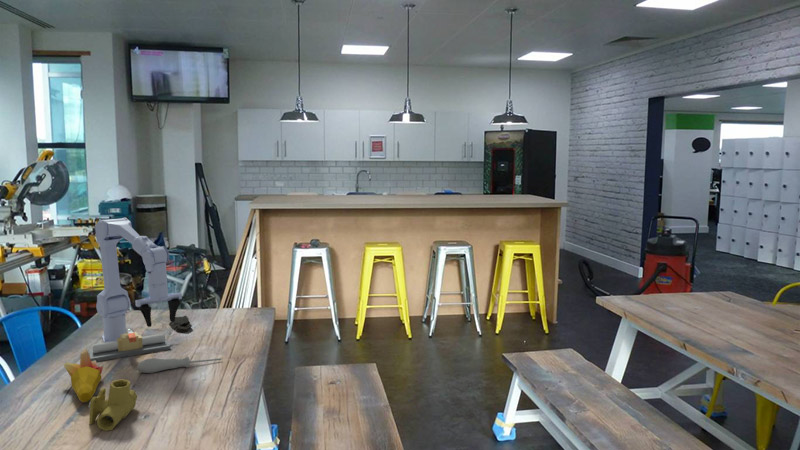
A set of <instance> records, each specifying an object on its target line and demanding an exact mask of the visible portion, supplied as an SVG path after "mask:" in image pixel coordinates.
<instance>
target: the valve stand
mask: <svg viewBox="0 0 800 450" xmlns="http://www.w3.org/2000/svg"><path fill="white" fill-rule="evenodd" d="M133 333H135V335H136V341H137V342H129V340H128V334H127V333H126V334H120V338H117V341H112V342H106V343H104V342H100V343H95V344H94V343H93V344H92V346H91V347H92V348H91V349H88V353H89V356H90V359H91V361H95V360H96V362H102V361H107V360H111V359H113V360H114V359H119V358H125V357H126V358H127V357H131V356H139V355H144V354H150V353H157V352H161V351H168V350H171V344H170V343H169V341H168V340H167V338H166V335H165V333H159V334H153V335H147V336H142V334H138V332H137V331H135V332H134V331H133Z"/></svg>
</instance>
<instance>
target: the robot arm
mask: <svg viewBox="0 0 800 450" xmlns="http://www.w3.org/2000/svg"><path fill="white" fill-rule="evenodd" d="M94 228H95V229H94V230H95V237H96V238H95V239H96V243H98V244H99V248H100V249H99V250H100V257H101V268H102V276H103V277H102V278H103V286H104V288H103V290H101V292H99V293H98V294H97V295H96V306H95V307H96V311H97V313H98V315H99V316H100V317H102V323H103V326H102V327H103V334H101V338H102V341H103V342H102V343H106V342H112V341H117V338H120V334H126V333H125V329H127V322H126V314H128V311H129V309H130V308H131V299H130V297H129V293H128V292H129V291H127V290H126V289H124V288H123V287H122V286H121V280H120V270H119V259H118V250H117V244H118V243H119V242H120V241H121V240H123V239H124V240H126V241H128V242H129V243H130V244H131V247H132V249H133V251H134V252H136V253H137V254H138V255H139V256H141V259H142V262H143V264H144V266H145V272H147V280H148V281H147V283H148V297H144V298H141V299H135V300H134V302H135V304H134V305H135V307H137V308H138V309H139V311H140V312H141V315H143V318H144V321H145V324H146V326H147V327H148V328H151V327H152V315H151V314H152V307H150V305H153V304H158V303H159V304H160V303H164V302H167V304H168V311H169V321H170V322H175V317H177V316H176V315H177V312H178V309H179V306H180V304H181V300H182V299H183V295H182V292H175V293H169V289H168V286H169V285H168V275H167V264H168V262H169V260H170V252H169V250H168V249H167V248H166V246H163V245H162V246H161V245H157V244H155V242H153V241H152V240H151V239H150V238H149V237H148V236H147V235H140V234H139V233H138V232H137V231H136V230H135V229H134V228H133V226H132V222H131V220H129V219H128V218H127V217H122V218H109V219H100V220H98V221H97V222H96V223H95V226H94Z"/></svg>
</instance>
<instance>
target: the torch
mask: <svg viewBox="0 0 800 450" xmlns="http://www.w3.org/2000/svg"><path fill="white" fill-rule="evenodd" d="M79 357H80V359H79V360H80V361H79V363H73V362H70V361H69V360H68V359H66V362H63V364H62V365H63V367H64V369H66V371H67V373H68V375H69V377H70V381H71V387H72V389H73V391H74V393H75V394H76V396H77V397H78V399H79V401H81V402H82V403H86V402H90V401H91V399H92V397H94V394H95V393H96V391H97V388H98V386H99V384H100V382H101V380H102V373H103V369H104V366H98V364H97V361H96V360H95V361H91V359H90V356H89V349H88V348H87V346H85V347H84V348H83V350H82V351H81V352H80V355H79Z"/></svg>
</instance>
